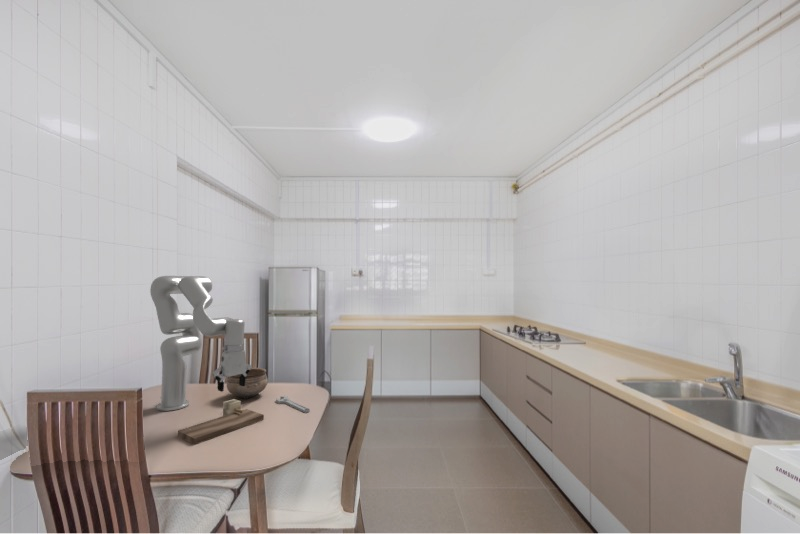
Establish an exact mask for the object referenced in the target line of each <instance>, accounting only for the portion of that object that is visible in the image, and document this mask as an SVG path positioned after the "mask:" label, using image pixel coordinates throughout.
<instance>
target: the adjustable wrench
mask: <svg viewBox="0 0 800 534" xmlns="http://www.w3.org/2000/svg"><path fill="white" fill-rule="evenodd" d="M275 403H277V404H283V405H284V404H285V405H287V406H289V407H291V408H293V407H294V408H293V409H295V410H298V411H300V412H303V413H305V414H307V413H310V412H311V411H310V408H309V407H306V406H304V405H301V404H299V403H298V402H294V401H292V400H290V397H289V396H286V395H285V396H284V395H281V396H280V398H275Z"/></svg>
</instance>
